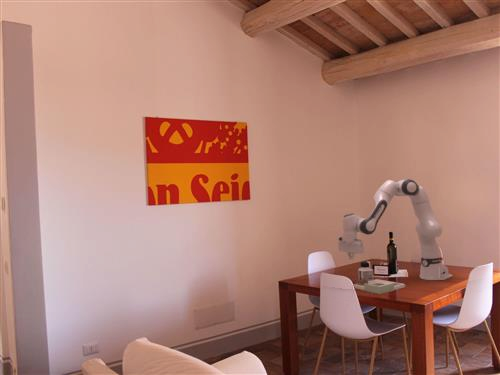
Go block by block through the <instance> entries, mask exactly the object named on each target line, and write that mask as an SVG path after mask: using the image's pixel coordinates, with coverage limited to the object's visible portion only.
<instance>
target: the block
mask: <svg viewBox="0 0 500 375" xmlns="http://www.w3.org/2000/svg"><path fill="white" fill-rule="evenodd" d="M365 283H366V284H368V280H366V279H359V278H358V279H356V284H357V285H361V286H364V284H365Z"/></svg>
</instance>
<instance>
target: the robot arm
mask: <svg viewBox="0 0 500 375" xmlns="http://www.w3.org/2000/svg"><path fill="white" fill-rule="evenodd" d="M395 196H398V197H407V196H408V197H409V199H410V200H411V201H410V202H411V204H412V207H413V212H414V214H415V216H416V218H417V220H418V222H417V223H416V225H415V232H416V233H417V237H418V241H419V244H420V253H421V257H420V263H421V264H420V270H419V271H420V272H419V273H420V274H419V275H418V276H419V278H420V279H422V280H425V281H445V280H447V279H450V278H452V277H453V274H451V273H449V269H448V267H447V266H446V265H445V264H443V263H442V261H444V258H443V257H441V256H440V254H439V245H438V243H437V240H436V239H437V238H439V237H440V236H441V235H442V233H443V227H442V226H441V224H440V223H439V221H438V219H437V218H436V216H435V214H434V211H433V210H432V206H431V203H430V202H431V201H430V199H429V197H428V194H427V191H426V189H425V188H424V187H423V186H422V185H418V183H417V182H416V181H415V180H413V179H400V180H397V181H396V180H395V181H394V180H391V179H387V180H386V181H385V182H383V184H382V185H381V186H379V188H378V189H377V190H376V191H375V193H374V196H373V197H372V200H373V203H374V205H375V206H374V208H373V210H372V212H371V214H370V215H369V216H368V217H367V218H364V217H360V216H359V215H356V214H355V213H348V214H345V215H344V216H343V218H342V229H343V232H342V233H343V235H342V236H339V237H338V238H337V240H338V243H337V245H338V246H337V247H338V251H339V252H342V253H347V257H348V259H349V260H355V255H356V254H358V255H360V254H361V255H362V254H364V252H365V250H364V245H363V241H362V240H361V239H360V238H358V233H361V234H364V235H367V236H368V235H369V236H370V235H372V234H373V233H375V231H376V228H377V227H378V223H379V221H380V219H381V217H382V216H383V215H384V213H385V211H386V209H387V207H388V206H389V204H390V203H391V201H392V200H393V198H394V197H395Z"/></svg>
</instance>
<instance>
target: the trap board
mask: <svg viewBox="0 0 500 375" xmlns="http://www.w3.org/2000/svg"><path fill="white" fill-rule="evenodd" d="M353 285H354V287H355V288H354V289H357V290H361V291H364V292H367V293H373V294H378V295H382V294H386V293H391V292H394V291H396V290H400V289H404V288H406V284H405V283H400V282H395V281H389V280H384V279H378V278H377V279H374V280H371V281H368V284H366V283H365V284H364V286H361V285H357V283H354V284H353Z"/></svg>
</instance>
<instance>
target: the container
mask: <svg viewBox="0 0 500 375" xmlns="http://www.w3.org/2000/svg"><path fill="white" fill-rule="evenodd" d="M359 265H360V268H358V270H357V272H358V280H359V279H366V280H368V281H371V280H375V279H374V278H375V277H374V269H373V268H371V262H370V261H367V260H366V261H365V260H364V261H360V264H359Z"/></svg>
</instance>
